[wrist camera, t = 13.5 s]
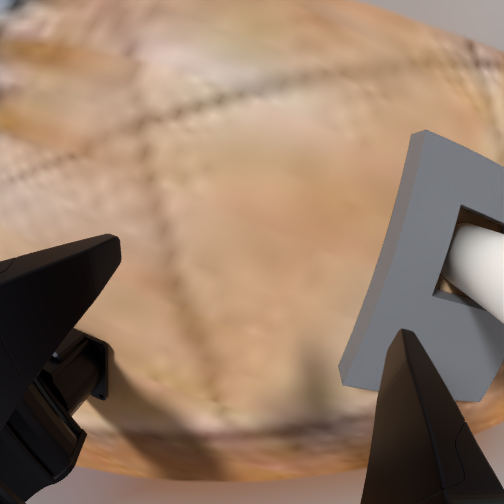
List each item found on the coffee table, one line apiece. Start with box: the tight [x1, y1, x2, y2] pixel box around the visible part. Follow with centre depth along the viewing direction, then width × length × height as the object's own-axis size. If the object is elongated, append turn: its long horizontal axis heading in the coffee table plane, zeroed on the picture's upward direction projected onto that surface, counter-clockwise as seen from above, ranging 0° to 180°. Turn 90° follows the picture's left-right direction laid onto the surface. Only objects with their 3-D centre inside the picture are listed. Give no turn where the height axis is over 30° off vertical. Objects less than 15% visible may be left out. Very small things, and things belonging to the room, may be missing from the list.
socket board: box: [338, 130, 504, 402], centre depth 19 cm, size 17×13×2 cm
